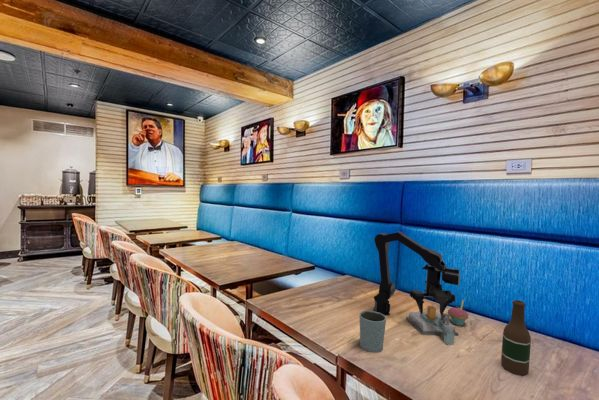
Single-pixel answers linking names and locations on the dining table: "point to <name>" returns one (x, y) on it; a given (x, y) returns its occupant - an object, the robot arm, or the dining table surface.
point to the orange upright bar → (431, 312)
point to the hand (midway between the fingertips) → (431, 314)
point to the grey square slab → (433, 325)
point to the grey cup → (372, 331)
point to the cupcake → (458, 315)
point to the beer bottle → (516, 342)
